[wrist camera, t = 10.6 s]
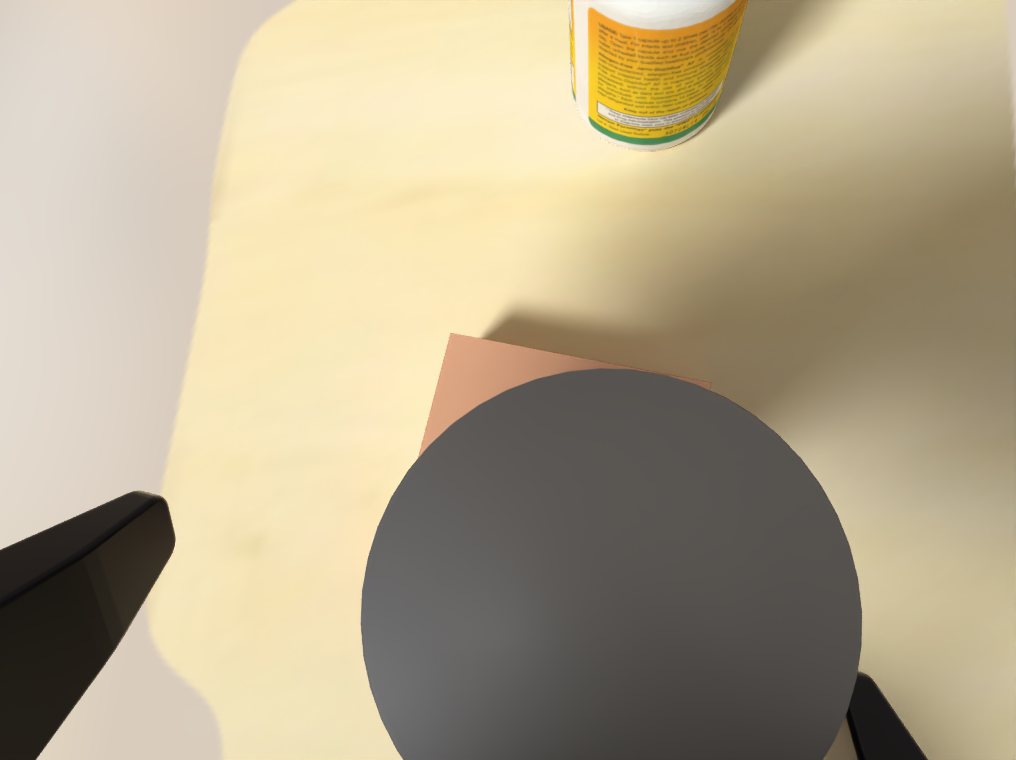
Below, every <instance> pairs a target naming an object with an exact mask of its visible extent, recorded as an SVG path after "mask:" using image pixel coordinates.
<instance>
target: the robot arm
mask: <svg viewBox="0 0 1016 760" xmlns="http://www.w3.org/2000/svg"><path fill="white" fill-rule="evenodd" d="M174 547H175V533H174V528H173V524H172V520H171V516H170V511H169V507H168V503H167V501H166V500H165V499H164V498H163V497H162V496H160V495H156V494H151V493H148V492H144V491H133V492H130V493H128V494H125V495H123V496H121V497H118V498H116V499H114V500H112V501H110V502H107V503H105V504H103V505H100V506H98V507H96V508H94V509H91V510H89V511H87V512H85V513H82V514H80V515H78V516H76V517H73V518H71V519H69V520H67V521H64V522H62V523H60V524H58V525H55V526H53V527H51V528H49V529H46V530H44V531H42V532H40V533H37V534H35V535H33V536H31V537H28V538H26V539H24V540H22V541H19V542H17V543H15V544H12V545H10V546H8V547H6V548H3V549H2V550H0V760H36V759H37V757H38V756H39V755H40V753H41V752H42V751H43V749H44V748H45V747H46V745H47V744H48V742H49V741H50V740H51V738H52V737H53V736H54V734H55V733H56V731H57V730H58V729H59V727H60V726H61V725H62V723H63V721H64V720H65V719H66V718H67V716H68V715H69V713H70V712H71V710H72V709H73V708H74V706H75V705H76V704H77V702H78V701H79V700H80V698H81V697H82V696H83V694H84V693H85V691H86V690H87V689H88V687H89V686H90V685H91V683H92V682H93V680H94V679H95V678H96V676H97V675H98V674H99V672H100V671H101V669H102V668H103V667H104V665H105V664H106V662H107V661H108V659H109V658H110V657H111V655H112V654H113V652H114V651H115V649H116V648H117V646H118V644H119V643H120V641H121V639H122V638H123V637H124V635H125V633H126V632H127V630H128V628H129V626H130V625H131V623H132V621H133V620H134V618H135V616H136V615H137V613H138V611H139V609H140V608H141V606H142V604H143V603H144V601H145V599H146V598H147V596H148V594H149V592H150V591H151V589H152V587H153V586H154V584H155V582H156V581H157V579H158V577H159V575H160V574H161V572H162V570H163V569H164V567H165V565H166V564H167V562H168V560H169V558H170V557H171V555H172V553H173V550H174ZM823 760H928V759H927V758H926V756H925V755H924V754H923V752H922V751H921V749H920V748H919V746H918V745H917V743H916V742H915V740H914V739H913V737H912V736H911V735H910V733H909V732H908V730H907V729H906V727H905V726H904V724H903V723H902V721H901V720H900V718H899V717H898V716H897V714H896V713H895V711H894V710H893V708H892V707H891V705H890V704H889V702H888V701H887V699H886V698H885V697H884V695H883V694H882V692H881V691H880V689H879V688H878V686H877V685H876V683H875V682H874V681H873V679H872V678H871V677H869V676H868V675H867V674H865V673H862V672H859V671H858V672H857V679H856V682H855V686H854V689H853V693H852V696H851V700H850V703H849V707H848V711H847V713H846V715H845V717H844V720H843V722H842V724H841V727H840V729H839V731H838V734H837V736H836V738H835V741H834V742H833V744H832V746H831V747H830V749H829V751H828V752H827V754H826V756H825V757H824V759H823Z"/></svg>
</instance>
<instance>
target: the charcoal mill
mask: <svg viewBox="0 0 1016 760" xmlns="http://www.w3.org/2000/svg"><path fill="white" fill-rule="evenodd" d="M361 632H362V644H363V656H364V661H365V665H366V670H367V675H368V679H369V684H370V688H371V691H372V694H373V697H374V700H375V703H376V705H377V708H378V711H379V714H380V717H381V720H382V722H383V724H384V726H385V728H386V730H387V732H388V733H389V735H390V737H391V739H392V741H393V743H394V745H395V747H396V749H397V751H398V752H399V754H400V755H401V757H402V758H403V760H823V759H824V757H825V756H826V754H827V752H828V751H829V749H830V747H831V746H832V744H833V742H834V741H835V738H836V736H837V734H838V731H839V729H840V727H841V724H842V722H843V720H844V717H845V715H846V713H847V711H848V707H849V703H850V700H851V696H852V693H853V689H854V686H855V682H856V679H857V672H858V665H859V658H860V651H861V637H862V609H861V601H860V592H859V584H858V577H857V573H856V569H855V565H854V561H853V557H852V553H851V549H850V546H849V543H848V541H847V538H846V535H845V533H844V530H843V528H842V525H841V523H840V520H839V518H838V515H837V513H836V512H835V510H834V508H833V506H832V504H831V503H830V501H829V499H828V497H827V495H826V493H825V492H824V490H823V488H822V486H821V485H820V483H819V482H818V481H817V479H816V478H815V477H814V475H813V474H812V473H811V471H810V470H809V469H808V467H807V466H806V464H805V463H804V462H803V460H802V459H801V458H800V457H799V456H798V455H797V454H796V453H795V452H794V451H793V450H792V449H791V448H790V446H789V445H788V444H787V443H786V442H785V441H784V440H783V439H782V438H781V437H780V436H779V435H778V434H777V433H775V432H774V431H773V430H772V429H770V428H769V427H768V426H767V425H765V424H764V423H763V422H762V421H761V420H759V419H758V418H757V417H756V416H754V415H753V414H751V413H750V412H748V411H747V410H745V409H743V408H742V407H740V406H738V405H737V404H735V403H734V402H732V401H730V400H729V399H727V398H725V397H723V396H721V395H719V394H717V393H714V392H712V391H710V390H708V389H705V388H703V387H701V386H699V385H697V384H694V383H690V382H687V381H684V380H680V379H677V378H674V377H671V376H667V375H663V374H657V373H651V372H645V371H639V370H633V369H606V368H598V369H588V370H578V371H568V372H564V373H559V374H555V375H551V376H546V377H542V378H538V379H535V380H532V381H529V382H527V383H524V384H521V385H519V386H516V387H513V388H511V389H508V390H506V391H504V392H502V393H500V394H498V395H496V396H494V397H493V398H491V399H489V400H487V401H485V402H483V403H481V404H479V405H478V406H476V407H475V408H474V409H472V410H471V411H469V412H468V413H467V414H465V415H464V416H462V417H461V418H460V419H458V420H457V421H455V422H454V423H453V424H451V425H450V426H449V427H448V428H447V429H446V430H445V431H444V432H443V433H442V434H441V435H440V436H439V437H437V438H436V439H435V440H434V441H433V442H432V443H431V444H430V445H429V446H428V447H427V448H426V450H425V451H424V452H423V453H422V454H421V456H420V457H419V458H418V459H417V460H416V462H415V463H414V464H413V465H412V467H411V468H410V469H409V470H408V472H407V473H406V475H405V476H404V478H403V480H402V481H401V483H400V484H399V486H398V488H397V489H396V491H395V492H394V494H393V496H392V497H391V499H390V501H389V503H388V506H387V508H386V510H385V512H384V514H383V517H382V519H381V521H380V523H379V525H378V527H377V531H376V534H375V537H374V540H373V544H372V547H371V550H370V553H369V556H368V561H367V566H366V572H365V578H364V583H363V589H362V608H361Z"/></svg>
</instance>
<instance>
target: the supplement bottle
mask: <svg viewBox="0 0 1016 760" xmlns="http://www.w3.org/2000/svg"><path fill="white" fill-rule="evenodd" d="M747 3H748V0H568V4H569V27H570V64H571V83H572V93H573V99H574V103H575V106H576V109H577V111H578V113H579V115H580V117H581V119H582V121H583V122H584V123H585V125H586V126H587V127H588V128H589V129H590V130H591V131H592V132H593V133H594V134H595V135H597V136H598V137H599V138H600V139H603V140H605V141H607V142H608V143H611V144H613V145H616V146H619V147H622V148H625V149H629V150H635V151H656V150H663V149H666V148H670V147H673V146H675V145H678V144H680V143H682V142H684V141H686V140H687V139H689V138H691V137H692V136H694V135H695V134H696V133H697V132H699V131H700V130H701V129H702V128H703V127H704V125H705V124H706V123H707V121H708V120H709V119H710V117H711V116H712V114H713V112H714V110H715V108H716V106H717V104H718V101H719V98H720V95H721V92H722V89H723V86H724V82H725V79H726V76H727V72H728V69H729V65H730V62H731V58H732V55H733V51H734V48H735V45H736V41H737V38H738V35H739V31H740V28H741V24H742V20H743V17H744V13H745V9H746V6H747Z"/></svg>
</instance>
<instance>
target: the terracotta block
mask: <svg viewBox="0 0 1016 760" xmlns="http://www.w3.org/2000/svg"><path fill="white" fill-rule="evenodd" d="M598 368H606V369H633V370H639V371H645V372H651V373H657V374H663V373H658V372H652V371H647V370H642V369H637V368H631V367H626V366H621V365H616V364H611V363H605V362H600V361H595V360H590V359H584V358H579V357H574V356H569V355H564V354H558V353H553V352H548V351H543V350H538V349H532V348H527V347H522V346H517V345H511V344H506V343H501V342H496V341H491V340H485V339H480V338H475V337H470V336H464V335H459V334H454V333H450V337H449V341H448V345H447V349H446V353H445V356H444V360H443V364H442V368H441V372H440V376H439V380H438V383H437V387H436V391H435V395H434V399H433V403H432V407H431V410H430V414H429V418H428V422H427V426H426V430H425V434H424V437H423V441H422V445H421V449H420V453H419V457H420V456H421V454H422V453H423V452H424V451H425V450H426V448H427V447H428V446H429V445H430V444H431V443H432V442H433V441H434V440H435V439H436V438H437V437H439V436H440V435H441V434H442V433H443V432H444V431H445V430H446V429H447V428H448V427H449V426H450V425H451V424H453V423H454V422H455V421H457V420H458V419H460V418H461V417H462V416H464V415H465V414H467V413H468V412H469V411H471V410H472V409H474V408H475V407H476V406H478V405H479V404H481V403H483V402H485V401H487V400H489V399H491V398H493V397H494V396H496V395H498V394H500V393H502V392H504V391H506V390H508V389H511V388H513V387H516V386H519V385H521V384H524V383H527V382H529V381H532V380H535V379H538V378H542V377H546V376H551V375H555V374H559V373H564V372H568V371H578V370H588V369H598ZM663 375H667V376H671V377H674V378H677V379H680V380H684V381H687V382H690V383H694V384H697V385H699V386H701V387H703V388H705V389H708V390H710V385H711V383H710V382H705V381H699V380H694V379H689V378H684V377H678V376H673V375H668V374H663ZM419 457H418V458H419Z"/></svg>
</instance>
